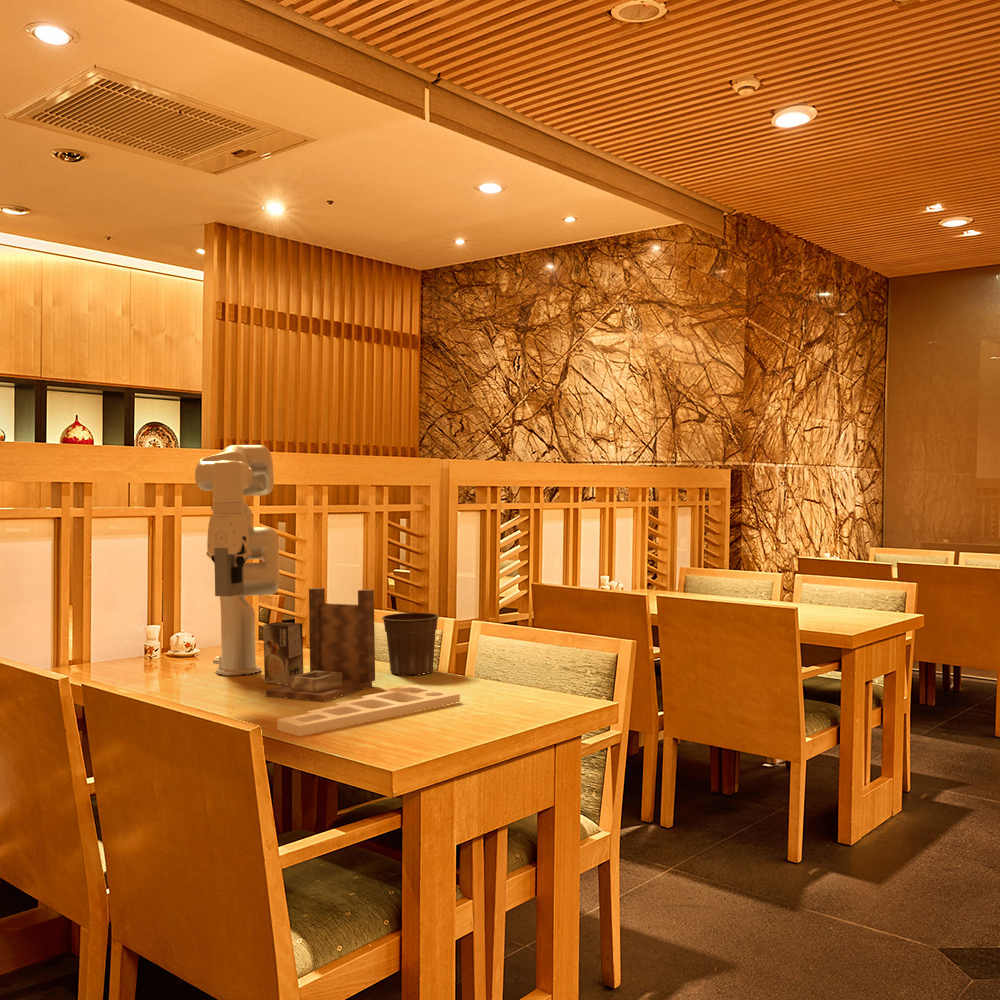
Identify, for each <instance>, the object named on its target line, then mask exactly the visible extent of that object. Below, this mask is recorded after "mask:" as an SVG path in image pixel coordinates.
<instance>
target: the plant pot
mask: <svg viewBox="0 0 1000 1000" xmlns="http://www.w3.org/2000/svg"><path fill="white" fill-rule="evenodd" d="M381 618H382V619H381V620H382V621H383V624H384V625H383V627H384V631H385V633H386V641H387V651H388V657H389V667H390V668H389V671H390V674H392V673H393V675H395V674H397V675H396V676H401V675H403V676H405V675H410V676H412V675H416V674H422V675H424V674H423V673H428V672H431V673H433V672H434V661H435V645H436V633H437V632H436V631H437V629H438V619H439V618H440V615H439V614H438V613H430V612H399V613H393V614H388V615H383V616H382V617H381ZM428 674H429V673H428Z"/></svg>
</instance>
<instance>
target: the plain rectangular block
mask: <svg viewBox="0 0 1000 1000" xmlns="http://www.w3.org/2000/svg"><path fill="white" fill-rule="evenodd" d="M237 554H238V553H237ZM242 555H243V554H242ZM214 559H215V565H214V597H220V596H225V597H228V596H235V595H242V594H244V569H243V567H242V582H241V583H232V580H231V567H233V562H232V556H231V555H228V554H227V548H214ZM237 560H238V557H237Z"/></svg>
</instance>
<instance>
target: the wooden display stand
mask: <svg viewBox="0 0 1000 1000" xmlns="http://www.w3.org/2000/svg"><path fill="white" fill-rule="evenodd" d="M325 591H326V590H325V588H324V587H313V588H308V613H309V615H308V616H309V617H308V619H309V620H308V621H309V622H308V623H309V626H308V627H309V628H308V629H309V671H308V672H303V674H300V675H296V676H292V677H290V684H287V685H280V686H277V687H273V688H269V689H266V690H265V697H269V696H270V697H271V698H280V697H287V698H286V699H290V698H298V699H297V700H301V699H308V700H307V701H312V700H316V701H315V702H322V701H324V702H326V701H325V700H327V701H329V700H328V699H331V698H334V697H337V698H339V697H338V696H340V697H342V696H341V695H343V696H345V695H344V694H347V695H349V694H348V693H350V694H352V693H351V692H353V693H355V692H354V691H356V692H359V691H362V690H361V689H363V690H365V689H364V688H366V689H368V688H367V687H369V688H372V687H373V682H374V681H376V655H375V654H376V651H375V650H376V649H375V648H376V645H375V641H376V640H375V636H376V635H375V589H359V590H357V604H353V603H352V604H351V603H347V604H346V603H326V602H325V601H326V598H325V597H326V596H325V593H326V592H325ZM371 686H372V687H371ZM358 690H359V691H358ZM334 699H335V698H334ZM331 700H332V699H331Z"/></svg>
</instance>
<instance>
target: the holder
mask: <svg viewBox="0 0 1000 1000" xmlns="http://www.w3.org/2000/svg"><path fill="white" fill-rule="evenodd" d="M460 700H461V696H460V693H458V692H454V691H453V692H452V691H447V690H442V689H437V688H432V687H426V686H422V685H416V684H409V685H404V686H398V687H393V688H387V689H385V691H383V692H378V693H373V694H366V695H362V696H361V698H357V699H353V700H347V701H342V702H337V703H335V705H333V706H328V707H321V708H317V709H313V710H311V709H310V710H307V713H303V714H298V715H293V716H289V717H283V718H278V719H277V721H276V723H277V724H276V726H277V731H279V730H280V732H283V733H286V734H290V735H294V736H297V737H303V736H308V735H313V734H319V733H322V732H327V730H328V731H332V729H333V730H337V729H336V728H338V729H342V728H341V727H343V728H346V727H345V726H347V727H351V726H350V725H352V726H355V724H357V725H361V723H362V724H366V723H365V722H367V723H371V722H375V721H374V720H376V721H380V720H379V719H381V720H385V718H386V719H389V718H388V717H391V718H394V716H395V717H399V716H398V715H400V716H404V715H403V714H405V715H408V714H407V713H410V714H412V713H411V712H415V711H419V710H424V709H429V708H434V707H438V706H442V705H447V704H451V703H456V702H461V701H460ZM398 701H401V702H398ZM369 708H374V709H369ZM434 709H435V708H434ZM429 710H430V709H429ZM424 711H425V710H424ZM419 712H420V711H419ZM415 713H416V712H415ZM370 721H371V722H370Z"/></svg>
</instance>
